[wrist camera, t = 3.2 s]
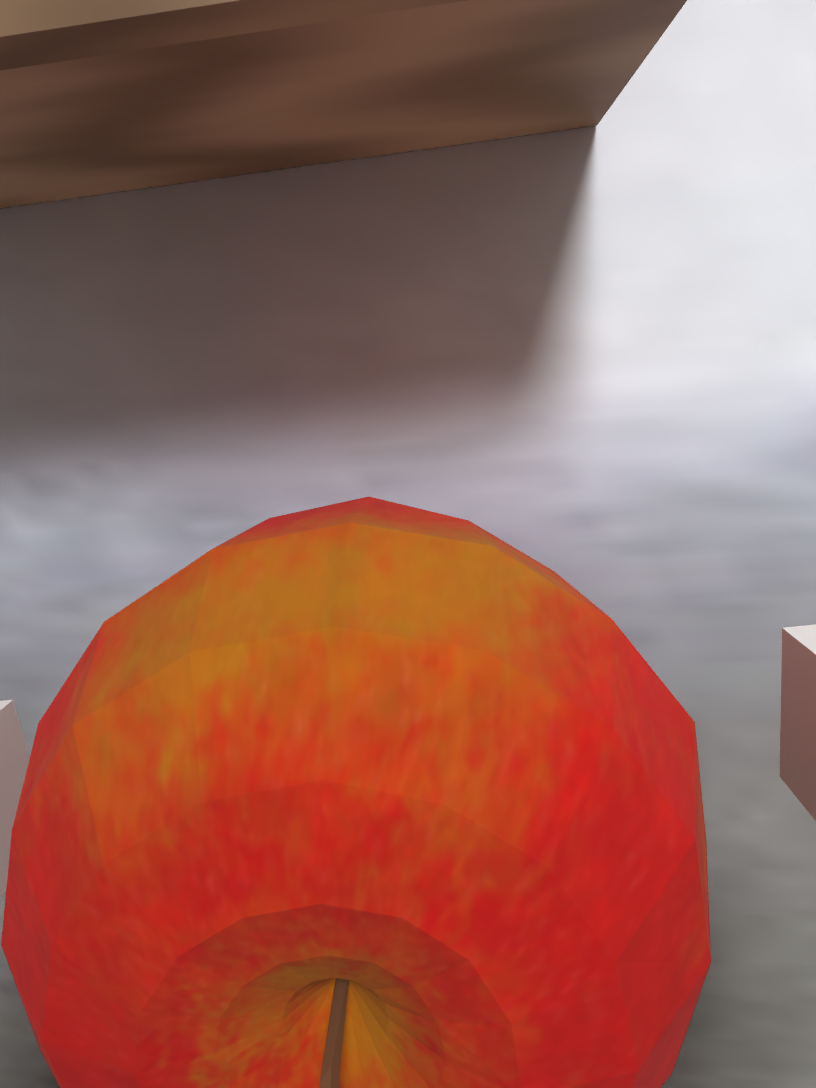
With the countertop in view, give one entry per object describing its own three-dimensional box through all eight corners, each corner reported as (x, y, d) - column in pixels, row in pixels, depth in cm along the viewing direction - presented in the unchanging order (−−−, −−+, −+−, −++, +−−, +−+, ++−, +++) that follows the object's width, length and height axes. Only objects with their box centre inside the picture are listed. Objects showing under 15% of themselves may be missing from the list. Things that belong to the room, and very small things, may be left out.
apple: (627, 493, 16) (1143, 839, 5) (535, 829, 18) (720, 1633, 7) (224, 415, 16) (-324, 565, 4) (181, 764, 18) (-254, 1482, 7)
